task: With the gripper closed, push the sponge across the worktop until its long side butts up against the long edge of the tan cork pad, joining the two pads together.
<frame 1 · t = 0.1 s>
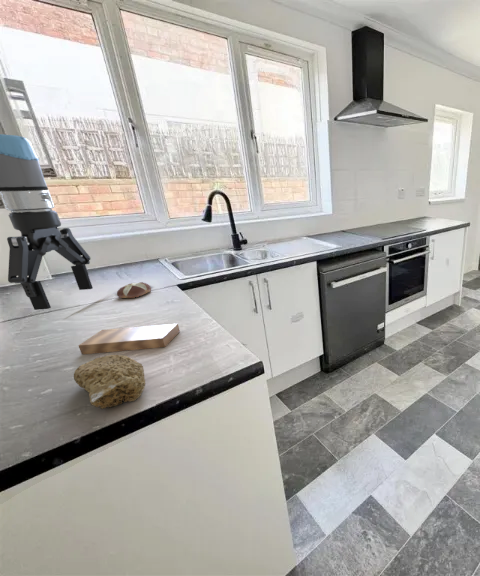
hand: (66, 298, 77), 20 cm above the countertop, tool pointing down, fingers open, 13 cm apart
bread: (135, 295, 136), on the countertop
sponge: (114, 389, 74), on the countertop
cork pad: (134, 342, 95), on the countertop
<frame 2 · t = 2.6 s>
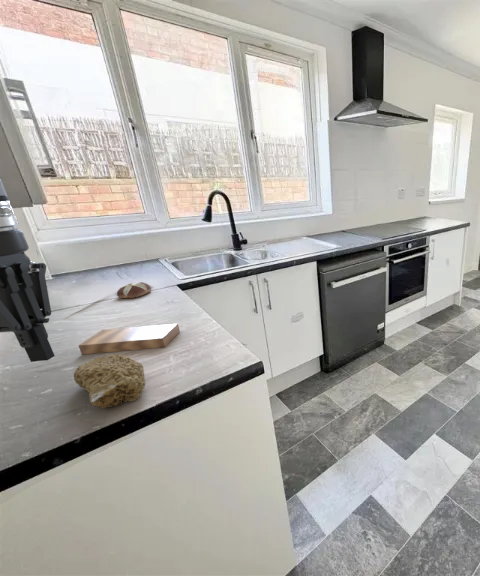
hand: (42, 358, 57), 16 cm above the countertop, tool pointing down, fingers closed
nothing on the countertop moved.
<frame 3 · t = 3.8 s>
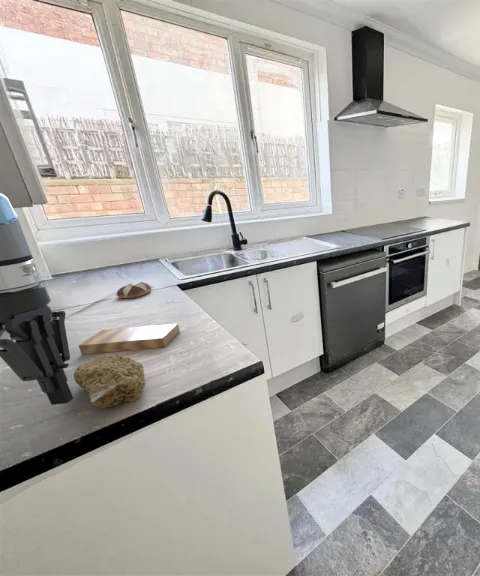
hand: (62, 401, 60), 7 cm above the countertop, tool pointing down, fingers closed
nothing on the countertop moved.
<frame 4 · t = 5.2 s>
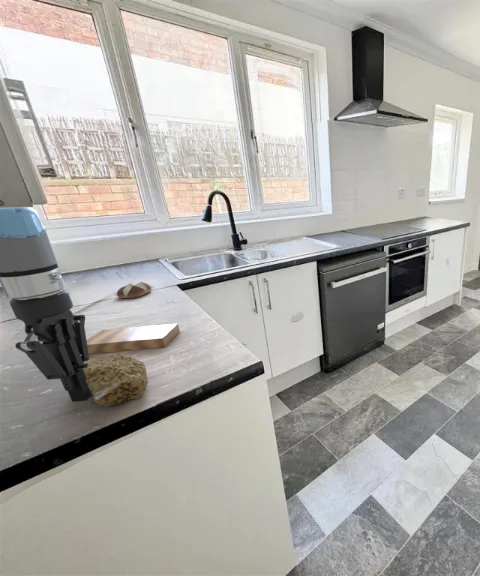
hand: (82, 398, 65), 4 cm above the countertop, tool pointing down, fingers closed
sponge: (116, 388, 74), on the countertop, touching gripper
everything else where it was.
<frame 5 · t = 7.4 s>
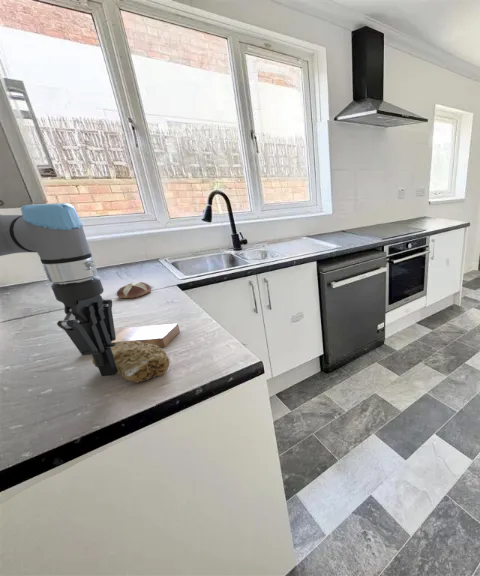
hand: (110, 374, 73), 4 cm above the countertop, tool pointing down, fingers closed
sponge: (134, 370, 81), on the countertop, touching gripper
everything else where it was.
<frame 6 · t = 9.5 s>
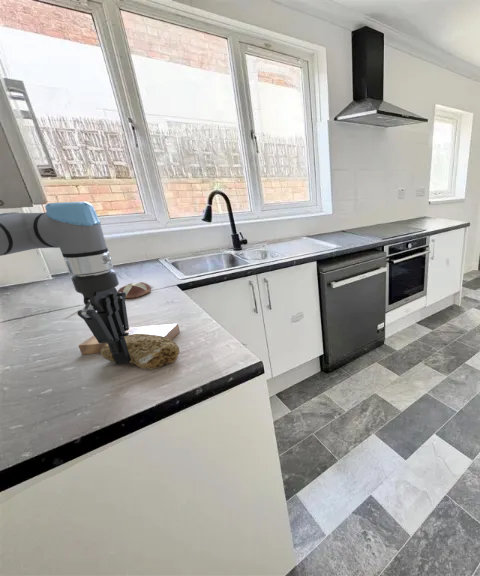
hand: (123, 362, 78), 4 cm above the countertop, tool pointing down, fingers closed
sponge: (143, 360, 86), on the countertop, touching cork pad, gripper
everything else where it was.
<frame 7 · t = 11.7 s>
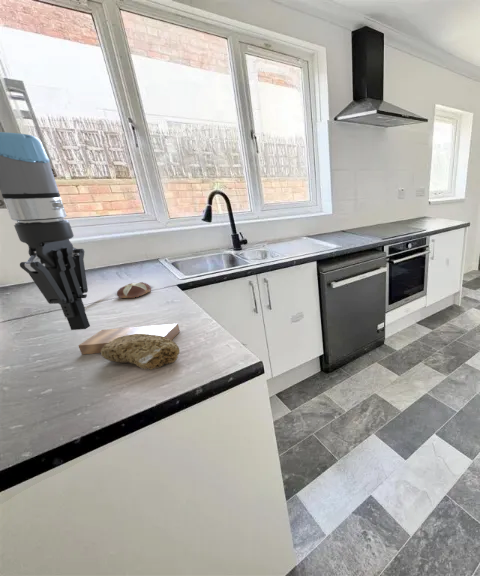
hand: (80, 327, 68), 16 cm above the countertop, tool pointing down, fingers closed
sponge: (143, 360, 86), on the countertop
everything else where it was.
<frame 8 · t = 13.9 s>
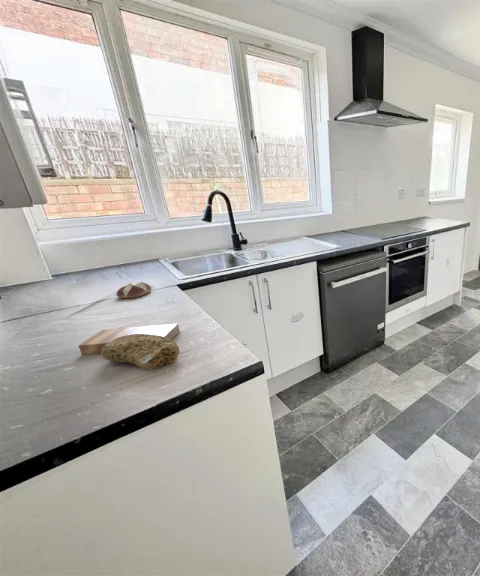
nothing on the countertop moved.
at the end: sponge inside the target area on the countertop beside the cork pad (0.6 cm from its centre), on the countertop; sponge moved 12.7 cm from its start; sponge tilted 0° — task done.
